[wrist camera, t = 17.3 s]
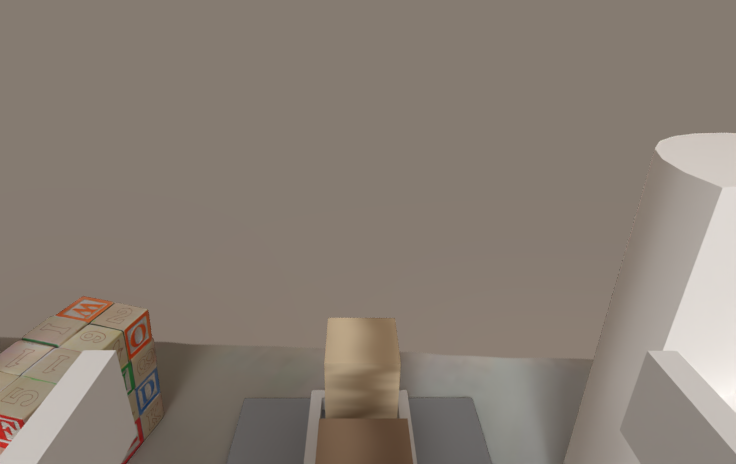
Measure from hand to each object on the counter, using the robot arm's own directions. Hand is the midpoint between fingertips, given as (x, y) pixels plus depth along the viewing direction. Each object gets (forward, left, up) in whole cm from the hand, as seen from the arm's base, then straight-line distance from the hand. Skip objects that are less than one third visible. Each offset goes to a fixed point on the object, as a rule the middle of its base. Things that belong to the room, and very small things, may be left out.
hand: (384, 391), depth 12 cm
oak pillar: (0, +20, -25) cm, 32 cm away
